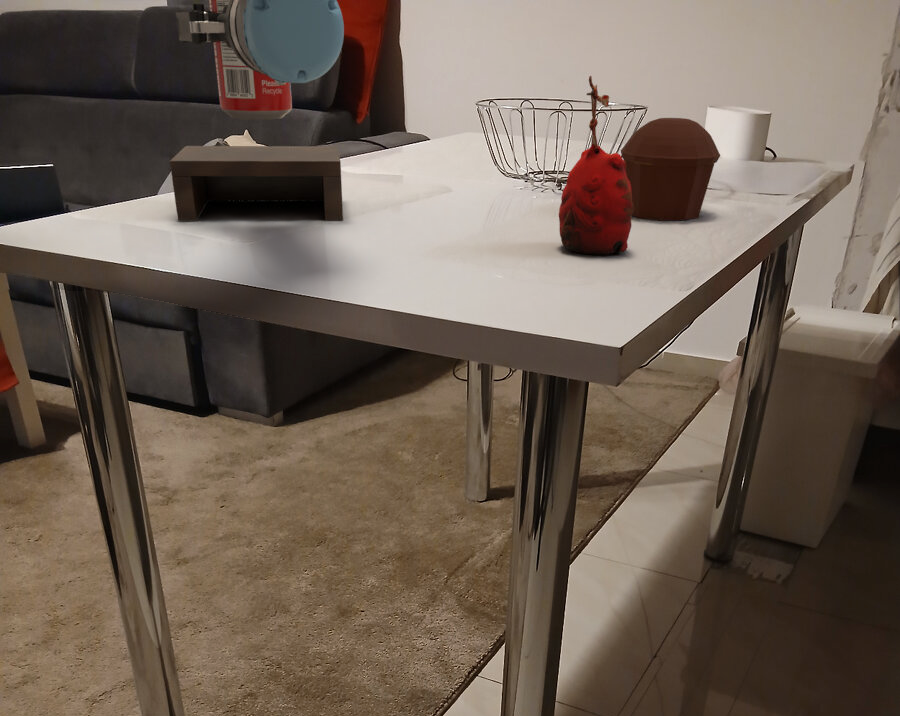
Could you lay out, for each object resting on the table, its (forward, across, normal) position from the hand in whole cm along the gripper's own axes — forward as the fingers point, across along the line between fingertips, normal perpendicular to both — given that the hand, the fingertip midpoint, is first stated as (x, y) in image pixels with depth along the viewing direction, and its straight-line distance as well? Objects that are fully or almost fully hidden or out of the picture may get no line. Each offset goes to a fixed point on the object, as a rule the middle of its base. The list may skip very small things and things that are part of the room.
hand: (243, 27), depth 99 cm
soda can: (-5, 0, -9) cm, 10 cm away
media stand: (-5, 0, -18) cm, 19 cm away
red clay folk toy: (-34, +28, -18) cm, 48 cm away
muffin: (-17, +46, -18) cm, 52 cm away
